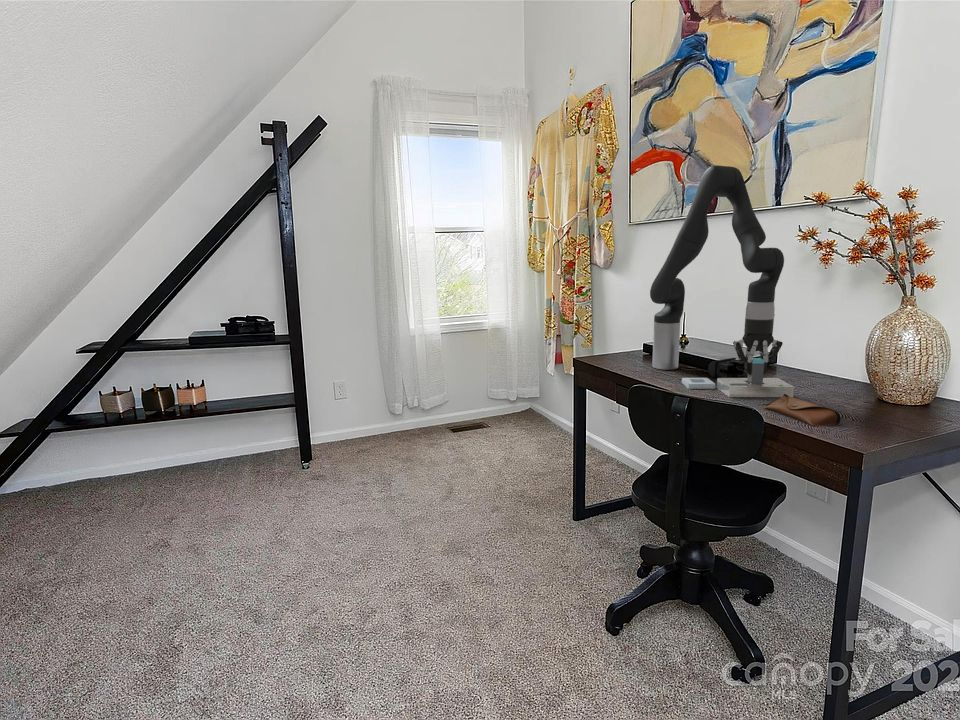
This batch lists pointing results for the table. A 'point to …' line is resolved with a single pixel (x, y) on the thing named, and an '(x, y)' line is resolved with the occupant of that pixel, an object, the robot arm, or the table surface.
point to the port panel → (754, 387)
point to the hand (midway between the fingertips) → (755, 373)
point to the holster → (698, 383)
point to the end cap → (726, 368)
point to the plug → (756, 371)
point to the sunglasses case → (804, 411)
